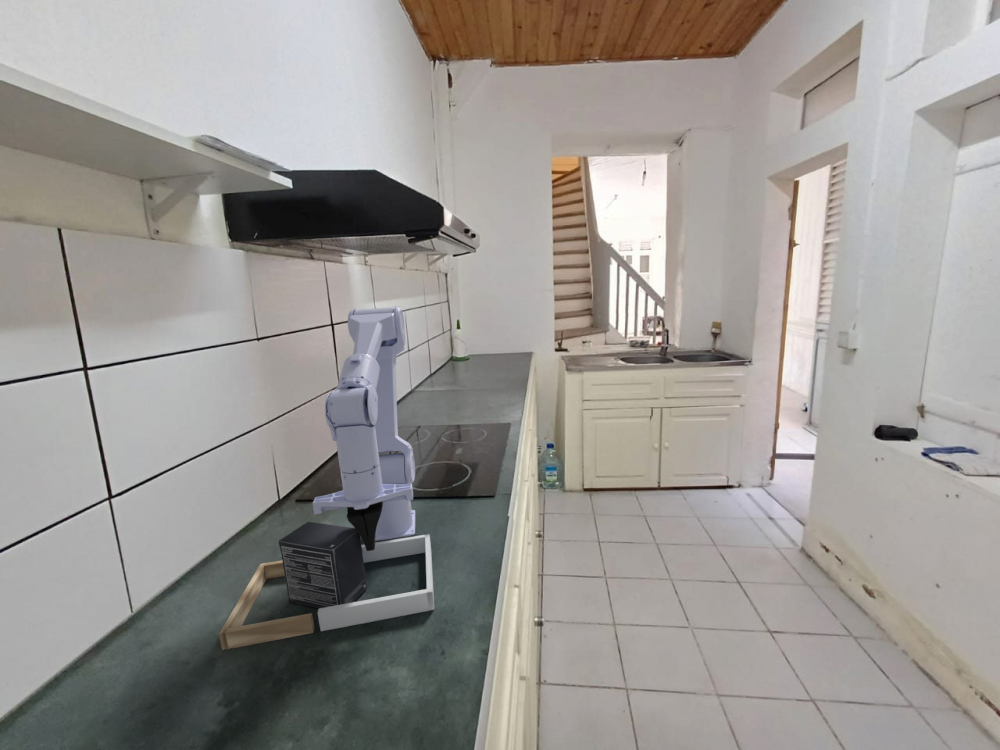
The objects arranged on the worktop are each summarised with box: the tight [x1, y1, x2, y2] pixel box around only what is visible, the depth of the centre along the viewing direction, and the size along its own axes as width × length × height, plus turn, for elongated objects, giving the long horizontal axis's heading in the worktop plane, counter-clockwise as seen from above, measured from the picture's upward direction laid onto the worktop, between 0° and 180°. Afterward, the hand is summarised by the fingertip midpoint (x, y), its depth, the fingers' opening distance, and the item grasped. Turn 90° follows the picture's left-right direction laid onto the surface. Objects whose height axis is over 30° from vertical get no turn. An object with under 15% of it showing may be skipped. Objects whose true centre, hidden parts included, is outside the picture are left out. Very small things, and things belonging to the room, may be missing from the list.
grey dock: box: [317, 533, 435, 632], centre depth 68 cm, size 16×16×3 cm
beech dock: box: [218, 559, 315, 651], centre depth 65 cm, size 16×12×2 cm
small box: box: [278, 521, 368, 610], centre depth 66 cm, size 11×6×10 cm, turn 71°
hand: (371, 547), depth 67 cm, fingers closed
